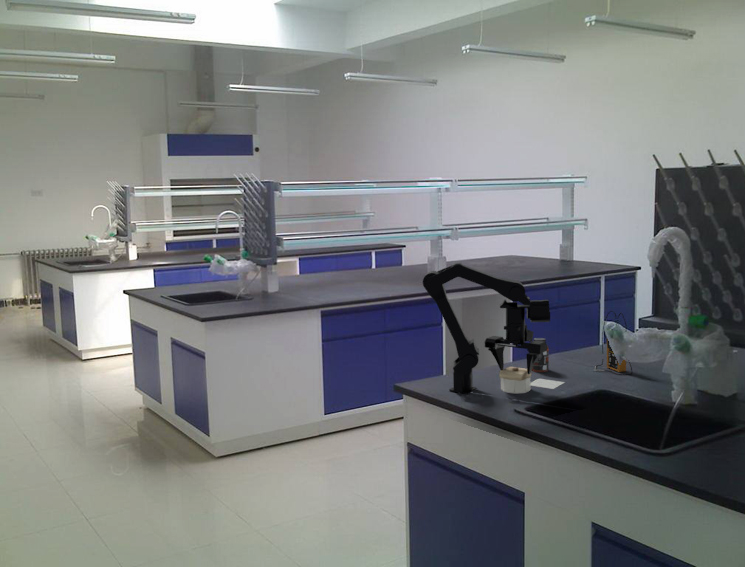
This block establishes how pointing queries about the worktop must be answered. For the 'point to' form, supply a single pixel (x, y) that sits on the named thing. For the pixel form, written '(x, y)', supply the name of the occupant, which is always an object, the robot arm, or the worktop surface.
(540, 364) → the supplement bottle
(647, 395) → the worktop surface
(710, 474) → the worktop surface
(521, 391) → the bowl
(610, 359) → the multimeter
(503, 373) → the lid
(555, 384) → the mat
